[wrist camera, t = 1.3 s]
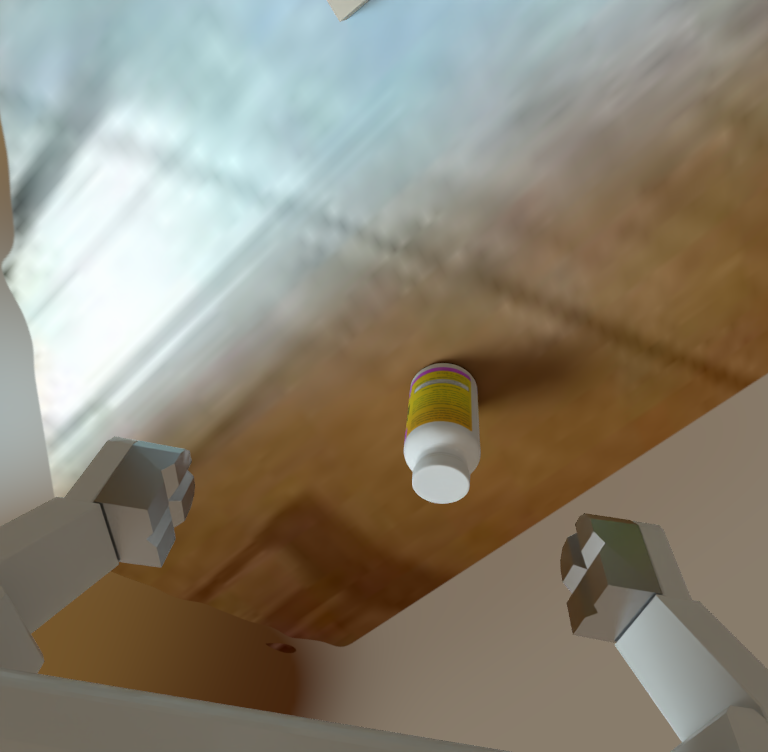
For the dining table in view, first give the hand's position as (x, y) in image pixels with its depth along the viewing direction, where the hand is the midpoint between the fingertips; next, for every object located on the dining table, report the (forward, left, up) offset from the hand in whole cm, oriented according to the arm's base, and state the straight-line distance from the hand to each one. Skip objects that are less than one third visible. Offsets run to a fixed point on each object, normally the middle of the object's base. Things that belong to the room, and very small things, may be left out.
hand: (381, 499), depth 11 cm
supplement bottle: (+11, +21, -35) cm, 42 cm away
